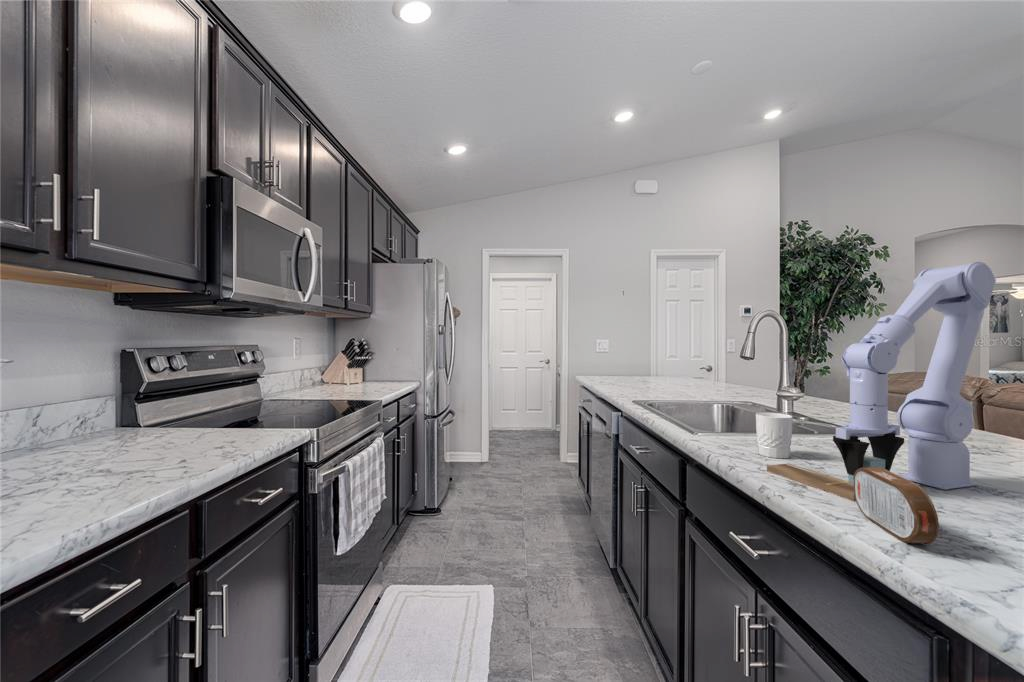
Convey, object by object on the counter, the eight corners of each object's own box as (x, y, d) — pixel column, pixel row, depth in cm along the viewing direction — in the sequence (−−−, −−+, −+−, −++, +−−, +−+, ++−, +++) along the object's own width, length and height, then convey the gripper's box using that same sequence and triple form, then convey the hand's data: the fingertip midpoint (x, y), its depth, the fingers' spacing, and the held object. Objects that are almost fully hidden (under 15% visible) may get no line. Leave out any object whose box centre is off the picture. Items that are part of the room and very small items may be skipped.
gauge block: (862, 481, 86) (863, 454, 86) (885, 488, 82) (885, 459, 82) (848, 483, 85) (848, 455, 85) (870, 490, 81) (870, 460, 81)
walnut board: (788, 468, 94) (788, 463, 94) (878, 497, 77) (878, 490, 77) (766, 471, 93) (766, 465, 93) (853, 500, 75) (853, 493, 75)
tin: (941, 555, 56) (941, 492, 56) (913, 553, 57) (913, 490, 57) (870, 511, 71) (870, 460, 71) (848, 509, 72) (849, 459, 72)
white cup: (763, 458, 103) (763, 417, 103) (750, 450, 111) (750, 411, 111) (799, 460, 101) (799, 418, 101) (783, 451, 109) (783, 412, 109)
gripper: (872, 400, 89) (872, 464, 89) (820, 402, 85) (820, 470, 85) (912, 404, 83) (912, 475, 83) (857, 407, 78) (857, 481, 78)
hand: (868, 473), depth 83 cm, fingers open, 7 cm apart
